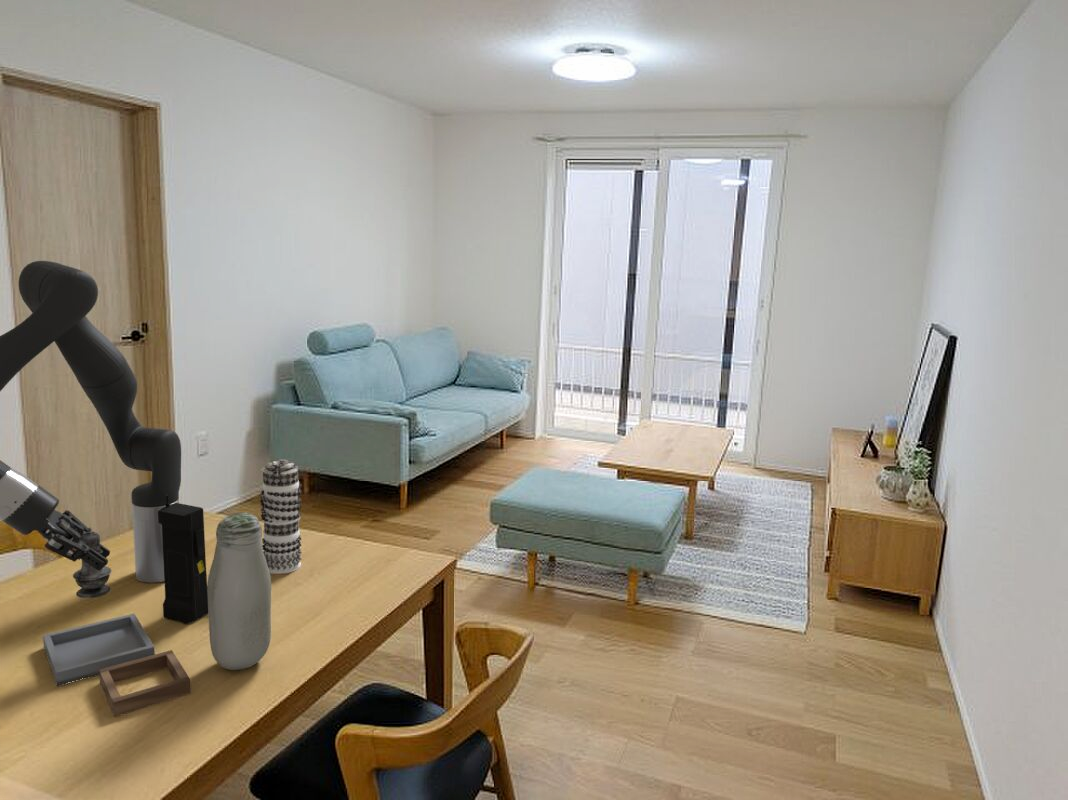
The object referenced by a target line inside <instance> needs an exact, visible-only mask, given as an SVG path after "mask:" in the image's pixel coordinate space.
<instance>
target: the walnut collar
mask: <svg viewBox="0 0 1068 800" xmlns="http://www.w3.org/2000/svg"><path fill="white" fill-rule="evenodd" d="M164 669H167V670H168V672H169V674H170V675H171V677H172V679H173V680H171V681H168V682H163V683H162V684H158V685H155V686H151V687H148V688H145V689H141V690H138V691H134V692H131V693H127V694H125V695H120V692H119V691H118V688H117V686H116V684H115V682H116V683H119V682H121V681H122V680H123V681H125V680H129V679H133V678H135V677H136V678H137V677H140V676H143V675H147V674H150V672H151V673H154V672H158V671H160V670H161V671H162V670H164ZM98 677H99V684H100V687H101V686H102V687H101V688H102V691H103V693H105V694H104V696H105V698H106V700H107V703H108V705H109V708H110V710H111V712H112V713H113V717H114V718H116V717H118V716H121V714H122V715H125V714H128V712H129V713H131V712H134V711H139V710H140V709H145V708H147V707H151V706H154V705H158V704H160V703H164V702H167V701H170V700H174V699H177V698H180V696H181V697H183V696H186V695H190V694H192V685H191V684H192V683H191V682H192V681H191V678H190V676H189V674H188V673H187V672H186V670H185V668H184V667H183V665H182V664H181V662H180V661H179V659H178V657H177V655H176V654H175V653H174V650H173V649H171V650H166V651H162V652H160V653H156V654H155V655H151V656H148V657H144V658H140V659H137V660H133V661H129V662H126V663H122V664H118V665H114V666H111V667H107V668H103V669H100V670H99V675H98ZM118 681H119V682H118ZM115 716H116V717H115Z"/></svg>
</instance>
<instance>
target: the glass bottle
mask: <svg viewBox="0 0 1068 800" xmlns="http://www.w3.org/2000/svg"><path fill="white" fill-rule="evenodd" d="M215 537H216V543H215V547H214V548H215V549H214V553H213V559H212V563H211V566H210V569H209V574H208V577H207V592H208V614H207V615H208V628H209V629H208V631H209V643H210V651H211V653H212V656H213V659H214V661H215V662H216V663H217V664H218V665H220V666H221V667H223V668H224V669H227V670H230V671H239V670H244V669H247V668H250V667H253V666H254V665H256V664H257V663H259V662H260V661H261V659H263V658H264V656H265V655H266V654H267V651H268V649H269V647H270V644H271V638H272V620H271V619H272V618H271V617H272V616H271V615H272V612H271V611H272V609H271V608H272V580H271V573H269V569H268V566H267V562H266V559H265V556H264V553H263V551H264V550H263V547H262V545H263V543H262V542H263V541H262V539H263V528H262V525H261V523H260V520H259V519H258V517H257V516H256V515H254V514H252V513H250V512H238V513H237V512H236V513H232V514H229V515H227V516H224V518H222V519H221V520H220V521H219V522H218V524H217V526H216V532H215Z"/></svg>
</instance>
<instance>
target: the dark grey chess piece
mask: <svg viewBox="0 0 1068 800" xmlns="http://www.w3.org/2000/svg"><path fill="white" fill-rule="evenodd" d="M87 528H88V532H87V533H84V534H83V535H82V536H81V537H82V538H81V540H82V541H83V542H84V543H86V544H87V545H88V546H90V548H92V549H93V550H95V551H96V552H98V553H99V554H102V553H103V550H102V549H100V544H101V540H100V539H101V538H100V537H101V535H100V534H99V533H98V532H96V531H94V530H93V528H92V527H87ZM92 530H93V531H92ZM111 573H112V569H111V567H109V566H106V565H105V566H104V567H103V568H102V569H101V570H96V569H95V568H93V567H92V566H90V565H89V564H88V563H86V562H85V561H83V560H82V559H81V567H80V569H78V570H76V571H74V573H72V574H73V575H72V577H73V579H75V583H76V584H77V586H78V587H80V588H79V589H78V590H77V591H76V594H75V595H76V597H77V598H80V599H96V598H100V597H102V596H105V595H107V594H109V593H110V592H111V587H110V585H107V582H108V581H109V579H110V576H111V575H110V574H111Z"/></svg>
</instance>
